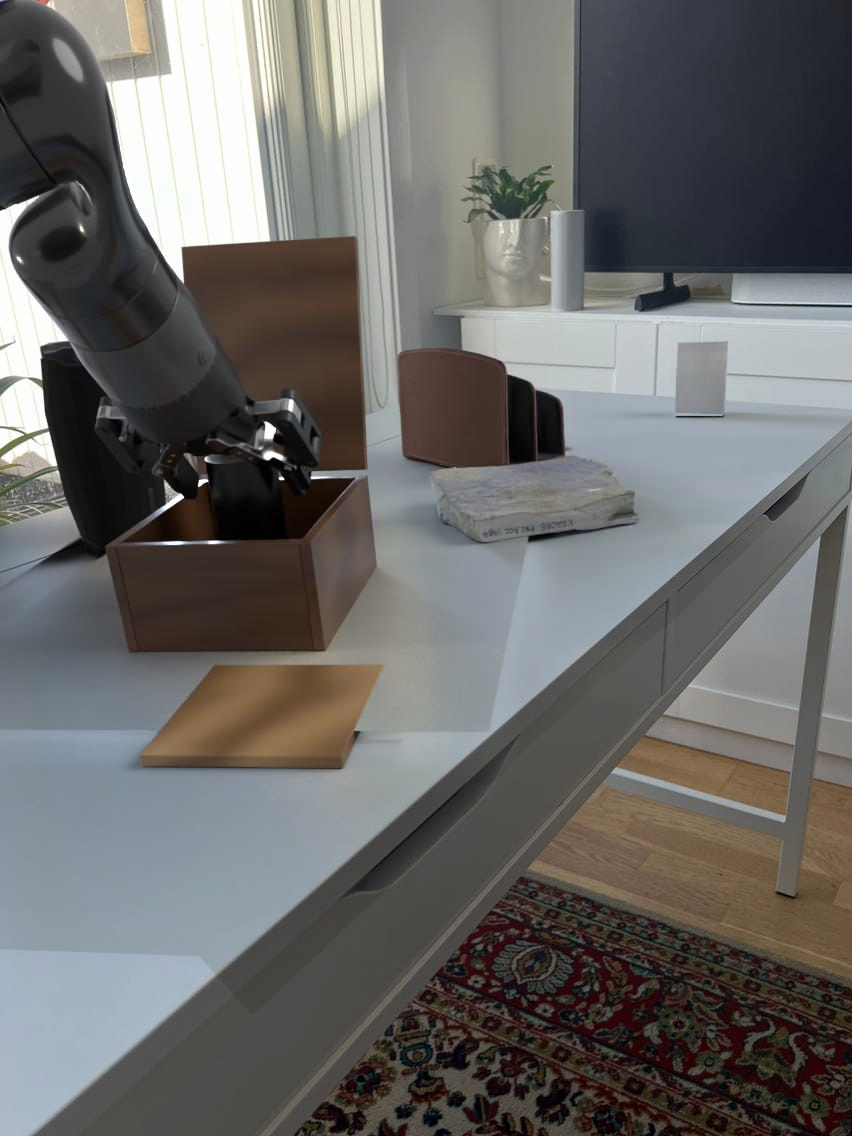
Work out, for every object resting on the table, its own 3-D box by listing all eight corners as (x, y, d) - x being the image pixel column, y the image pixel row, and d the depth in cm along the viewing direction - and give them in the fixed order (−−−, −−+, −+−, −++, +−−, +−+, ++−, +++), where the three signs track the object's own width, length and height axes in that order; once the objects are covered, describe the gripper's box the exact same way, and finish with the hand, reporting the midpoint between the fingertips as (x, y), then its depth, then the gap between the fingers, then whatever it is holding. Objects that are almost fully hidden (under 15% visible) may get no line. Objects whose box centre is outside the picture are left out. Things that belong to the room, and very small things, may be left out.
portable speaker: (65, 550, 95) (15, 346, 87) (153, 527, 101) (113, 333, 93) (101, 567, 89) (50, 350, 81) (192, 542, 95) (153, 337, 87)
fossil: (665, 526, 94) (583, 477, 108) (666, 481, 92) (583, 437, 106) (476, 568, 88) (416, 510, 102) (472, 521, 86) (412, 468, 100)
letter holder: (506, 481, 109) (500, 354, 104) (401, 457, 123) (391, 344, 117) (567, 464, 115) (564, 342, 109) (460, 443, 129) (453, 334, 123)
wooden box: (326, 660, 68) (310, 542, 64) (130, 661, 69) (104, 546, 66) (378, 574, 83) (367, 474, 80) (217, 576, 85) (200, 479, 82)
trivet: (141, 766, 56) (139, 754, 55) (216, 675, 66) (214, 664, 66) (343, 768, 54) (341, 756, 54) (385, 674, 65) (384, 663, 65)
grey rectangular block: (723, 416, 135) (727, 343, 131) (675, 417, 137) (676, 344, 133) (724, 411, 138) (728, 339, 134) (677, 412, 140) (679, 341, 136)
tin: (221, 617, 74) (193, 464, 69) (243, 593, 79) (219, 448, 74) (286, 617, 73) (262, 462, 68) (305, 592, 78) (284, 446, 73)
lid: (355, 235, 76) (357, 238, 77) (180, 246, 78) (184, 248, 79) (365, 469, 79) (367, 469, 80) (197, 474, 81) (201, 474, 82)
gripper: (274, 294, 58) (343, 441, 73) (54, 307, 60) (165, 447, 75) (260, 399, 55) (334, 529, 70) (30, 409, 57) (150, 533, 72)
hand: (247, 487), depth 72 cm, fingers open, 8 cm apart
